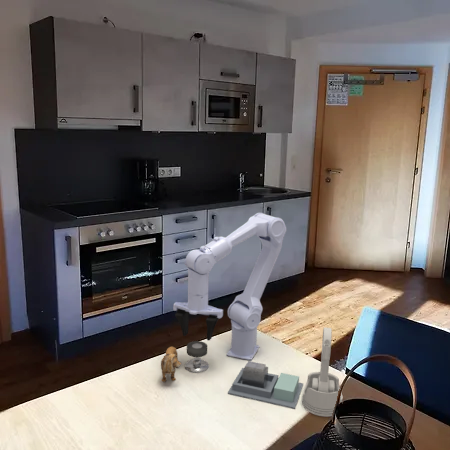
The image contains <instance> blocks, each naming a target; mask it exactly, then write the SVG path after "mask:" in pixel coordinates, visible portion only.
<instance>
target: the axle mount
mask: <svg viewBox="0 0 450 450" xmlns="http://www.w3.org/2000/svg"><path fill="white" fill-rule="evenodd" d="M209 367H210V365H209V363H208V361H206V360H204V359H202V357H192V359H189V360H187V361H185V364H184V369H185V370H186V371H187V372H190V373H198V374H199V373H203V372H205V371H207V370H208V369H209Z"/></svg>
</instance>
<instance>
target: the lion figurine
mask: <svg viewBox="0 0 450 450" xmlns="http://www.w3.org/2000/svg"><path fill="white" fill-rule="evenodd" d="M181 365H182V362H180V361H179V359H178V350H177V348H176V347H174V346H169V347H168V348H167V349H166V351H165V354H164V355H163V358H162V359H161V361H160V369H161V373H162V378H161V382H163V383H165V382H166V381H167V376H166V375H167V374H168V375H170V380H171V381H172V382H173V381H176V380H177V378H176V377H175V372H176V370H179V369H180V366H181Z"/></svg>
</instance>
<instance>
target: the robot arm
mask: <svg viewBox="0 0 450 450" xmlns="http://www.w3.org/2000/svg"><path fill="white" fill-rule="evenodd" d="M287 230H288V229H287V226H286V224H285V221H284V220H283V219H282V218H281V217H275V216H272V215H269V214H265V213H264V212H257V213H255V214H254V215H252V216H250V217H249V218H248V220H247V221H246V222H245V223H244V224H242V225H241V226H239V227H238V228H236V229H235V230H234V231H232V232H231V233H230V234H228V235H227V236H226V237H225V236H215V237H214V238H213V240H211V241H210V242H208V243H207V244H205V245H202V246H200V247H199V249H192V250H191V251H189V252H188V253H187V254H186V256H185V259H184V260H183V263H184V265H185V267H186V268H187V276H188V278H187V280H188V281H187V302H179V301H175V302H174V303H173V305H172V306H173V308H172V309H173V311H174V312H175V311H176V312H175V314H174V315H175V318H176V319H177V321H178V323H179V326H180V328H181V332H182V335H183V337H186V336H187V335H188V334H189V321H190V319H189V318H190V315H195V316H196V315H197V314H199V315H203V316H208V317H206V318H205V323H206V340H207V341H211V339H212V337H213V333H214V330H215V326H216V325H217V322H218V321H219V319H222V318H223V316H224V309H222V308H217V307H214V306H212V305H209V280H210V279H209V274H210V272H211V270H212V269H213V267H214V265H215V264H216V263H217V262H219V261H220V260H222V259H224V258H225V257H227V256H228V255H230V254H231V253H232V250H233V249H232V248H234V247H235V246H237V245H239V244H241V243H242V242H245V241H246V240H248V239H251V237H253V236H254V237H255V236H256V237H257V238H258V239H259V241H260V242H261V246H262V247H261V250H260V252H259V254H258V256H257V259H256V261H255V263H254V266H253V268H252V271H251V274H250V275H249V278H248V280H247V283H246V284H245V287H244V290H243V292H241V294H238V295H236V296H235V298H234V300H233V301H232V303H231V304H230V305H229V306H228V308H227V317H228V318H229V319H230V323H231V339H230V340H231V343H230V344H231V346H230V348H229V350H228V351H227V352H226V356H228V357H231V358H232V357H233V358H238V359H243V360H247V361H252V360H253V358H254V356H255V355H256V353H257V352H258V350H259V348H260V345H257V341H258V340H257V335H258V326H259V325H260V323H261V317H262V316H261V315H262V313H263V309H264V308H263V305H262V303H261V298H262V296H263V293H264V291H265V288H266V286H267V283H268V281H269V278H270V276H271V274H272V272H273V270H274V267H275V265H276V262H277V260H278V257H279V255H280V253H281V250H282V248H283V240H284V237H285V235H286V233H287Z"/></svg>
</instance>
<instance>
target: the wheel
mask: <svg viewBox="0 0 450 450" xmlns="http://www.w3.org/2000/svg"><path fill="white" fill-rule="evenodd" d="M207 354H208V344H207V343H206V342H203V341H201V340H197V341H196V340H194V341H190V342H188V343H187V344H186V355H188V356H189V357H192V358H196V357H198V358H202V357H205V356H206V355H207Z"/></svg>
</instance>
